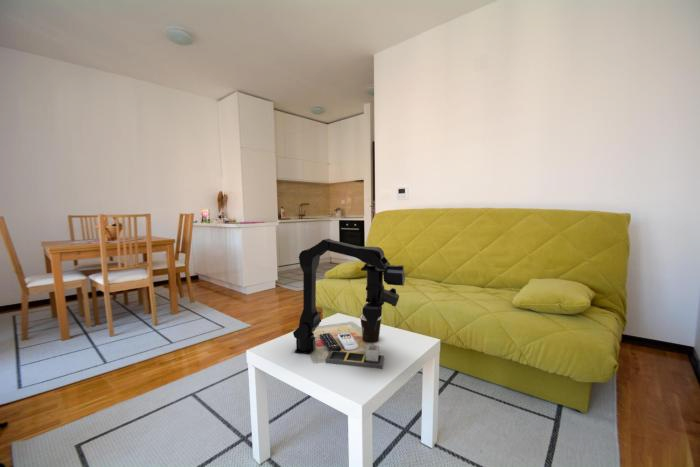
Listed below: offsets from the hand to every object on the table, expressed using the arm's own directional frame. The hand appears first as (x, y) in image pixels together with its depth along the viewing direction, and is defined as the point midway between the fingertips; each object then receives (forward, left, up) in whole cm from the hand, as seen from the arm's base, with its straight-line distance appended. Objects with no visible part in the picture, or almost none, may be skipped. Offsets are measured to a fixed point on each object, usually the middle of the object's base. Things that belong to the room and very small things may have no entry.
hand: (374, 326), depth 105 cm
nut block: (0, -3, -12) cm, 13 cm away
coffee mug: (-4, +17, -13) cm, 22 cm away
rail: (-7, -3, -13) cm, 15 cm away
